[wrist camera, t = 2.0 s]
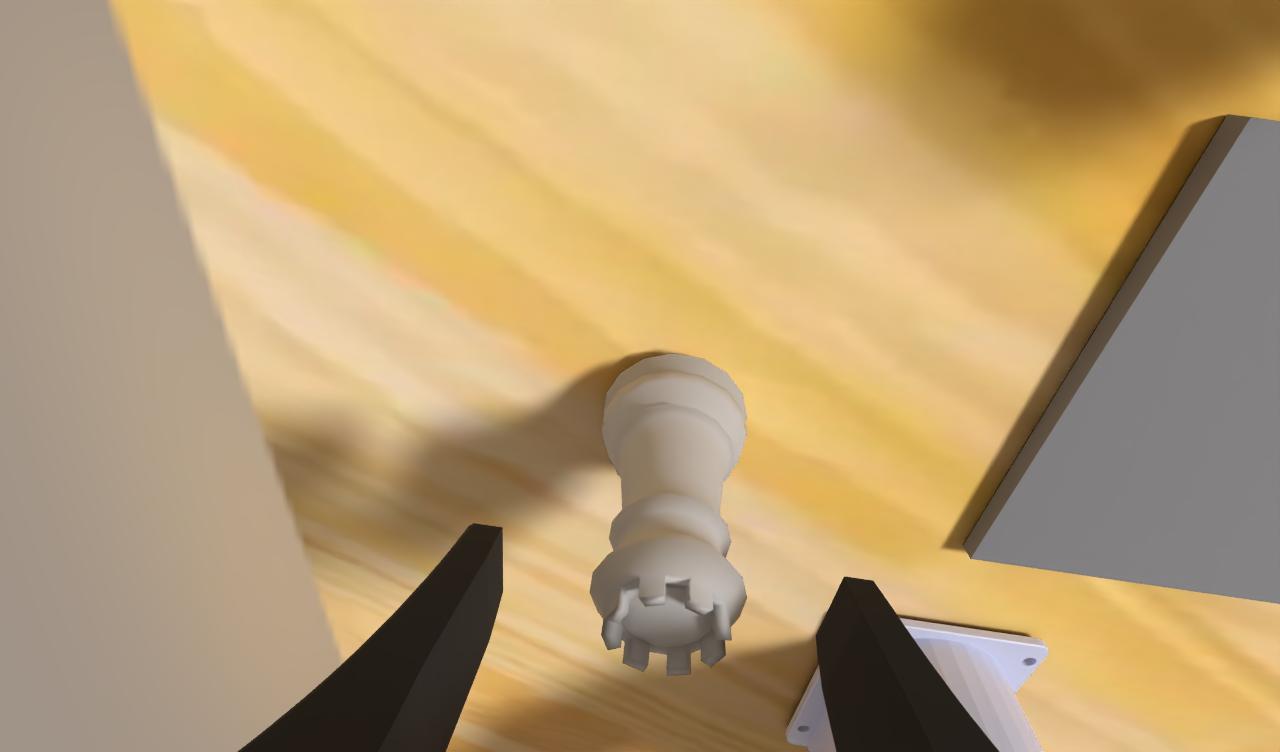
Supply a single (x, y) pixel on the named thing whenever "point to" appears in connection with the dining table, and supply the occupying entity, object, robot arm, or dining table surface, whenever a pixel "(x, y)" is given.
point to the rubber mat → (1169, 404)
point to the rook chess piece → (671, 512)
